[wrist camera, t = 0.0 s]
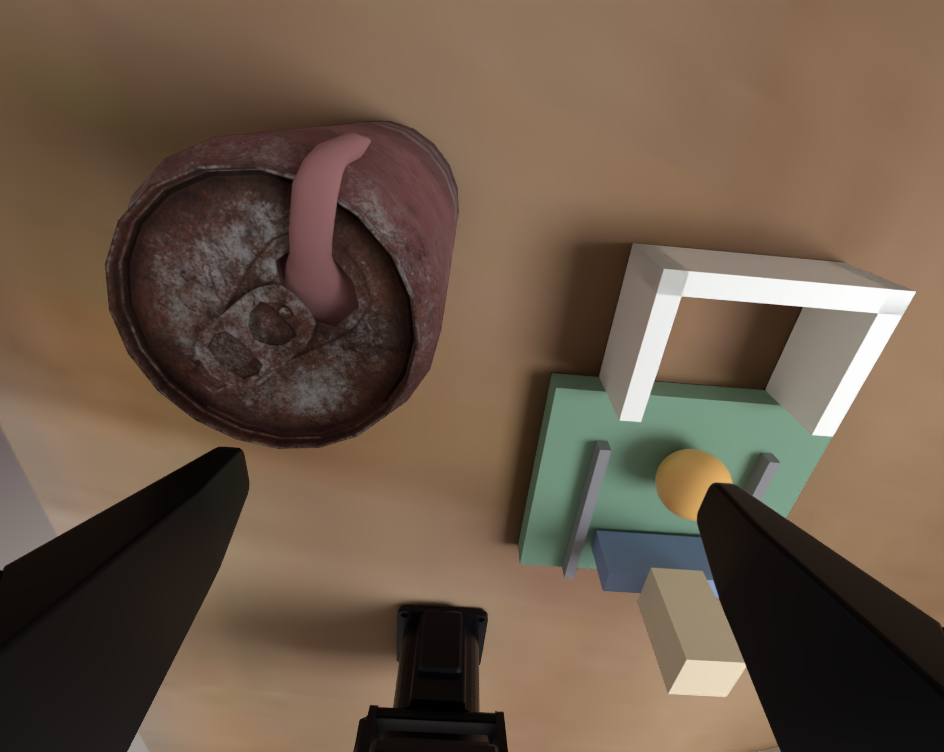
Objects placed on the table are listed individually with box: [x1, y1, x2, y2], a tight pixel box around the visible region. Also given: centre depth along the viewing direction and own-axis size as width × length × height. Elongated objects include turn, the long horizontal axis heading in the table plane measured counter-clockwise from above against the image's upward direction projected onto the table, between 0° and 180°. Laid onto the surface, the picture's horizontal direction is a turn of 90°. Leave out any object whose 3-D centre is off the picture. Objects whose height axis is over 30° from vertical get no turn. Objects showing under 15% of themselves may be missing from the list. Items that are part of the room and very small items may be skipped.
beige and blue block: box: [591, 530, 746, 697], centre depth 25 cm, size 3×7×8 cm, turn 85°
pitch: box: [518, 373, 832, 578], centre depth 27 cm, size 13×15×2 cm
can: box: [105, 121, 459, 449], centre depth 14 cm, size 6×6×14 cm
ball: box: [655, 449, 733, 521], centre depth 24 cm, size 4×4×4 cm
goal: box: [599, 243, 916, 437], centre depth 22 cm, size 7×10×4 cm
